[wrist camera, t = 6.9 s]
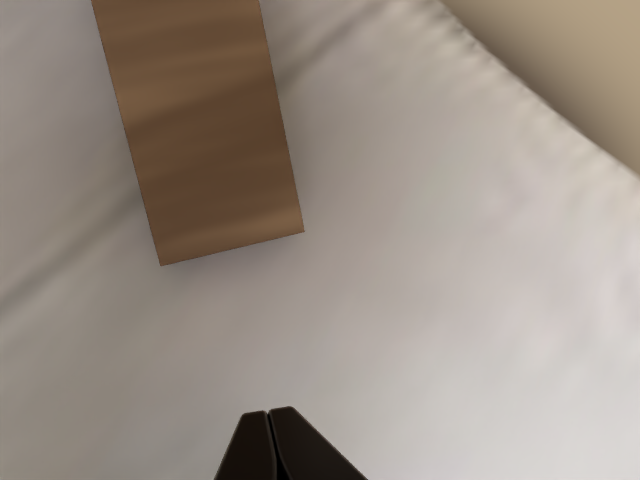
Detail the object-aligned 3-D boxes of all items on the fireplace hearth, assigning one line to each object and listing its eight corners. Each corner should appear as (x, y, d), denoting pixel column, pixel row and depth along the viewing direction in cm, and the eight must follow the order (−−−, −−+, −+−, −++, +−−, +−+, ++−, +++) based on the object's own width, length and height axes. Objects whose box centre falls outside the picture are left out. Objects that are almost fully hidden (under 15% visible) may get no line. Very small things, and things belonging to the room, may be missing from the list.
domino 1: (304, 231, 21) (243, -78, 19) (160, 266, 20) (76, -55, 18) (295, 224, 23) (237, -64, 20) (161, 255, 22) (84, -42, 20)
